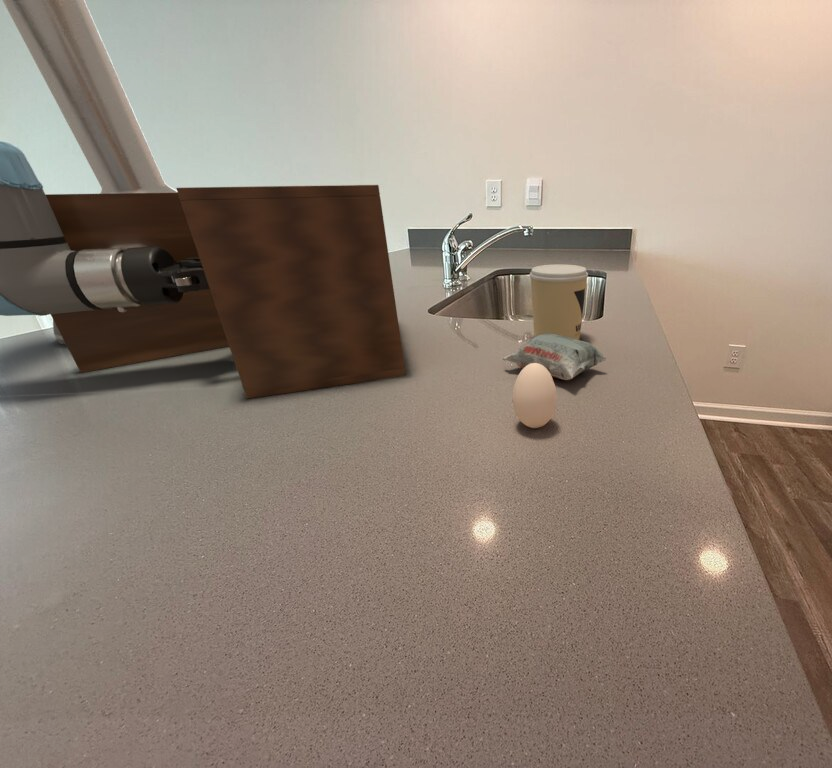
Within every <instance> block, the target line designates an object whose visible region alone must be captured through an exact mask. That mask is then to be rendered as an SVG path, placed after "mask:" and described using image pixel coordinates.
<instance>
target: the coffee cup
mask: <svg viewBox="0 0 832 768" xmlns="http://www.w3.org/2000/svg"><path fill="white" fill-rule="evenodd" d="M588 277H589V273H588V272H587V268H586V267H585V266H582V265H577V264H576V265H575V264H566V263H565V264H563V263H562V264H559V263H558V264H557V263H556V264H544V265H543V264H542V265H537V266H534V267H532V268H531V271H530V272H529V278H530V289H531V306H532V322H533V334H534V338H535V337H537V336H538V335H541V334H556V335H561V336H564V337H568V338H573V339H576V340H580V338H581V337H580V336H581V330H582V322H583V314H584V313H583V312H584V307H585V306H584V305H585V298H586V288H587V280H588Z"/></svg>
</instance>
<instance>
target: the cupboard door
mask: <svg viewBox="0 0 832 768" xmlns="http://www.w3.org/2000/svg"><path fill="white" fill-rule="evenodd" d="M45 195H46V197H47V199H48V202H49V204H50V206H51V208H52V211H53V213H54V215H55V217H56V219H57V222H58V224H59V226H60V228H61V231H62V233H63V235H64V238H65V240H66V242H67V243H68V246H69V248H70V250H71V251H78V250H85V249H107V248H123V249H125V250H127V249H128V248H138V247H161V248H163V249H165V250H166V251H168V252H169V253H170V254H171V256H172V257H173V259H174V260H175V261H176V262H177V263H178V261H181V260H186V258H194V257H199V255H198V252H197V249H196V246H195V243H194V240H193V237H192V234H191V231H190V228H189V225H188V222H187V219H186V216H185V213H184V210H183V207H182V204H181V200H180V198H179V195H178V192H176V193H108V194H100V193H54V194H53V193H52V194H51V193H49V194H47V193H45ZM178 264H179V263H178ZM50 317H51V318H52V321H53V320H54V322H55V324H56V326H57V328H58V330H59V332H60V334H61V336H62V338H63V339H64V341H65V343H66V345H65V346H66V348H67V349H68V351H69V353H70V355H71V357H72V359H73V361H74V363H75V365H76V366H77V367H76V368H78V371H79V373H88V372H94V371H99V370H105V369H110V368H111V369H112V368H115V367H120V366H121V367H122V366H126V365H133V364H138V363H143V362H150V361H154V360H155V361H156V360H160V359H166V358H171V357H177V356H182V355H189V354H194V353H198V352H204V351H210V350H215V349H221V348H226V347H229V344H228V341H227V338H226V335H225V332H224V329H223V326H222V323H221V320H220V317H219V314H218V311H217V308H216V305H215V302H214V299H213V296H212V293H211V290H210V289H203V290H199V291H188V292H186V293H183V297H182V299H181V300H180V301H179V302H178V303H176V304H168V305H155V306H147V305H142V306H138V307H127V311H126V312H119V311H118V309H117V307H115V308H112V309H103V310H91V311H80V312H69V313H59V314H50Z"/></svg>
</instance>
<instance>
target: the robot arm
mask: <svg viewBox="0 0 832 768" xmlns="http://www.w3.org/2000/svg"><path fill="white" fill-rule="evenodd" d="M2 1H3V4H4V6H5V8H6V10H7V11H8V13H9V15H10V17H11V19H12V21H13V23H14V25H15V27H16V29H17V30H18V33H19V34H20V36H21V38H22V41H23V42H24V43H25V46H26V47H27V49H28V51H29V53H30V55H31V57H32V59H33V60H34V63H35V64H36V67H37V68H38V71H39V72H40V75H41V76H42V78H43V79H44V82H45V83H46V85H47V87H48V89H49V91H50V94H51V95H52V97H53V99H54V100H55V103H56V104H57V106H58V108H59V110H60V112H61V114H62V116H63V118H64V119H65V122H66V123H67V126H68V127H69V129H70V130H71V133H72V135H73V137H74V138H75V141H76V142H77V144H78V146H79V148H80V150H81V151H82V153H83V156H84V157H85V159H86V161H87V163H88V164H89V167H90V169H91V171H92V173H93V174H94V176H95V178H96V180H97V182H98V184H99V186H100V187H101V191H100V193H99V194H108V193H176V192H177V189H175V188H173V187H171V186H169V185H168V184H167V183H166V182H165V179H164V177H163V175H162V172H161V170H160V168H159V166H158V164H157V162H156V159H155V157H154V154H153V152H152V150H151V148H150V145H149V144H148V143H149V142H148V141H147V138H146V137H145V134H144V132H143V129H142V128H141V125H140V123H139V120H138V118H137V116H136V114H135V111H134V109H133V107H132V105H131V103H130V100H129V98H128V96H127V94H126V91H125V89H124V86H123V84H122V82H121V80H120V77H119V75H118V73H117V70H116V69H115V66H114V64H113V61H112V59H111V57H110V55H109V53H108V50H107V47H106V46H105V44H104V41H103V39H102V37H101V35H100V32H99V29H98V28H97V25H96V23H95V21H94V18H93V16H92V13H91V11H90V9H89V7H88V5H87V3H86V0H2ZM45 194H46V192H45V190H44V185H43V184H42V182H41V181H39V179H38V177H37V175H36V173H35V171H34V169H33V167H32V166H31V163H30V162H29V160H28V158H27V157H26V154H25V153H24V151H23V150H21V149H20V148H19V147H18V146H16V145H14V144H13V143H9V142H6V141H1V140H0V316H4V317H13V316H14V317H15V316H39V317H43V316H49V315H50V316H51V314H59V313H69V312H80V311H91V310H103V309H112V308H115V307H117V309H118V311H119V312H126V311H127V307H138V306H142V305H147V306H155V305H168V304H176V303H178V302H179V301H180V300H181V299H182V297H183V293H186V292H188V291H199V290H203V289H210V287H209V284H208V281H207V278H206V275H205V273H204V270H203V267H202V264H201V261H200V258H199V257H194V258H186V260H181V261H178V263H179V264H178V263H177V262H176V261H175V260H174V259H173V257H172V256H171V254H170V253H169V252H168V251H166V250H165V249H163V248H161V247H138V248H128V249H127V250H125V249H123V248H107V249H85V250H78V251H71V250H70V248H69V246H68V243H67V242H66V240H65V238H64V235H63V233H62V231H61V228H60V226H59V224H58V222H57V219H56V217H55V215H54V213H53V211H52V208H51V206H50V204H49V202H48V199H47V197H46V195H45ZM52 325H53V326H52V328H53V335H54V337H55V338H56V340H57V342H58V344H61V345H64V346H67V345H66V343H65V341H64V339H63V338H62V336H61V334H60V332H59V330H58V328H57V326H56V324H55V322H54V320H53V319H52Z"/></svg>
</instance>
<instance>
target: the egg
mask: <svg viewBox="0 0 832 768" xmlns="http://www.w3.org/2000/svg"><path fill="white" fill-rule="evenodd" d="M557 395H558V394H557V387H556V384H555V382H554V379H553V377H552V376H551V374H550V373H549V371H548V370H547V369H546V368H545V367H544V366H543V365H541V364H538V363H531V364H529V365H527V366H526V367H524V368H521V370H520V372H519V373H518V375H517V378H516V380H515V382H514V385H513V389H512V405H513V410H514V413H515V415H516V416H517V418H518V420H519V421H520V422H521V423H522V424H523V425H525V426H526V427H528V428H531V429H538V428H541V427H543V426H546V424H548V423H549V422H550V420H551V419H552V417H553V415H554V414H555V411H556V408H557V407H556V406H557V401H558V400H557V399H558V397H557Z"/></svg>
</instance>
